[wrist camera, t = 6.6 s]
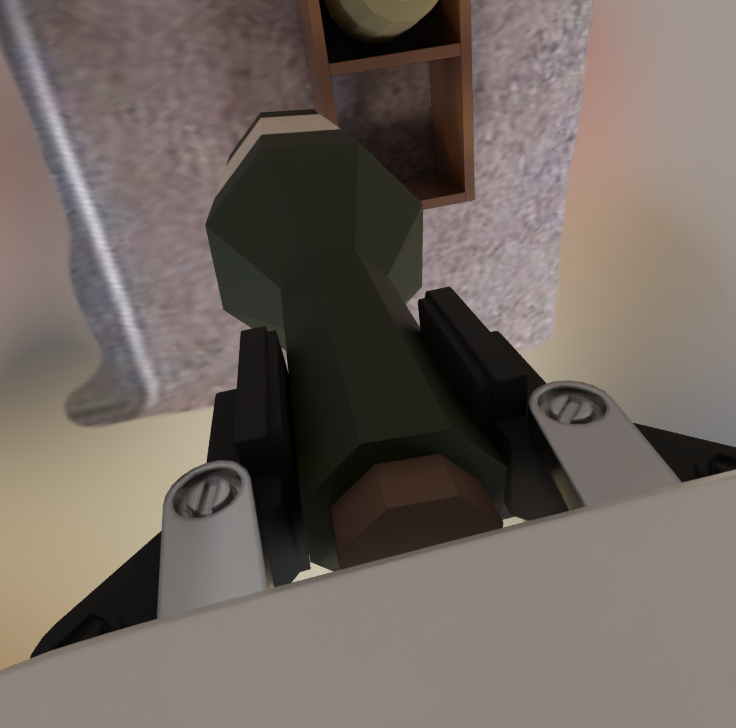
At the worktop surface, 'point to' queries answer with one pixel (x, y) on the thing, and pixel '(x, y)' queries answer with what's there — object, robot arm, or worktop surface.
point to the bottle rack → (447, 93)
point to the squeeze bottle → (377, 17)
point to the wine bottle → (350, 342)
